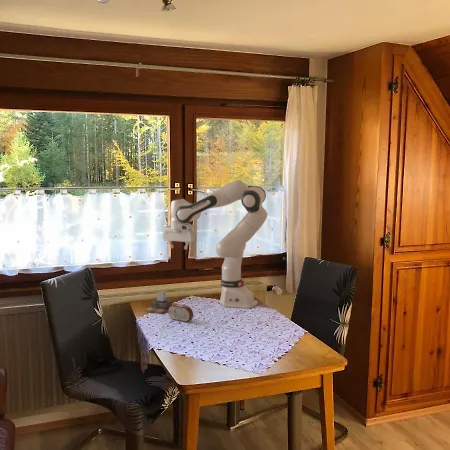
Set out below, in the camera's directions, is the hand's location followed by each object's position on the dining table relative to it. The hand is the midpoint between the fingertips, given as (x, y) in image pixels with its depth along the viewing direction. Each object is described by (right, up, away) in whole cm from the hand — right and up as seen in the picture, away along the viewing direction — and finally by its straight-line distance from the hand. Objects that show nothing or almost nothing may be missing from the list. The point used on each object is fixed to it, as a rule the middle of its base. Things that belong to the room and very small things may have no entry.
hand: (178, 248), depth 293 cm
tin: (+4, -36, -36) cm, 51 cm away
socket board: (-8, -33, -15) cm, 37 cm away
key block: (-8, -32, -15) cm, 36 cm away
